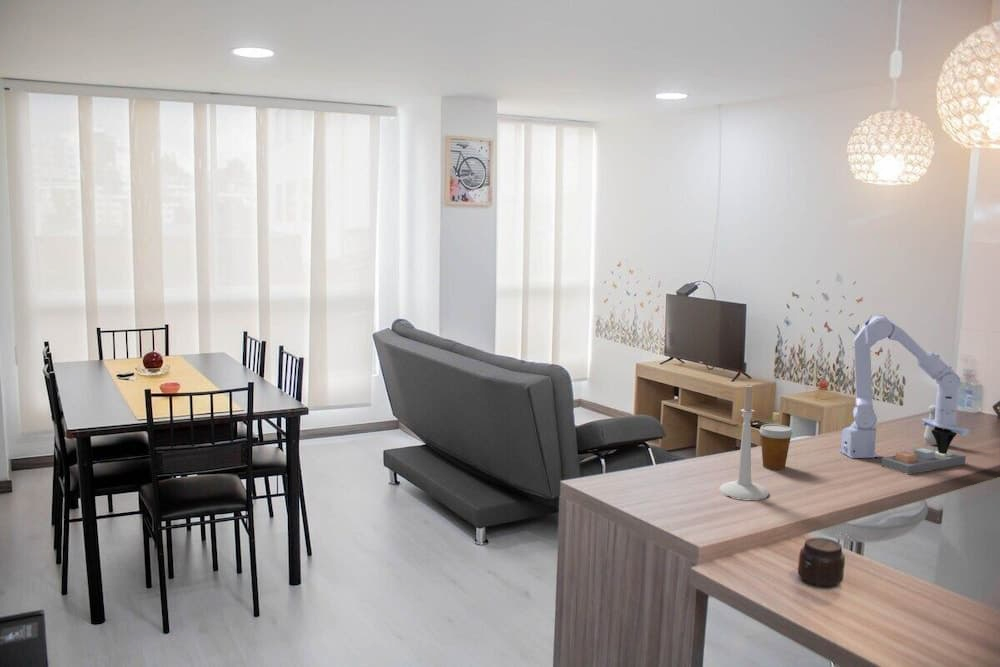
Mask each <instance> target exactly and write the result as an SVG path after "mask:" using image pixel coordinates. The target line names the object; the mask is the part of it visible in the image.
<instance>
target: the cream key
mask: <svg viewBox="0 0 1000 667" xmlns="http://www.w3.org/2000/svg"><path fill="white" fill-rule="evenodd" d="M935 454H936V455H939V456H943V457H947V456H952V455H953V454H952V453H949V452H947V453H944V454H942V453H938V451H935Z"/></svg>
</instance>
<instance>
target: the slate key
mask: <svg viewBox="0 0 1000 667" xmlns="http://www.w3.org/2000/svg"><path fill="white" fill-rule="evenodd" d="M932 450H933V449H928V448H924V447H923V448H916V449H914V451H913V453H914V454H916V455H917V458H920V459H924V460H929V459H935V451H932Z"/></svg>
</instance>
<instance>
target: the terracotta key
mask: <svg viewBox="0 0 1000 667" xmlns="http://www.w3.org/2000/svg"><path fill="white" fill-rule="evenodd" d="M913 453H914V452H910V451H906V450H904V451H897V452H895V456H896V457H895V460H898V461H901V462H904V463H912V462H916V459H917V455H916V454H913Z"/></svg>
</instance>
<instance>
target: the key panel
mask: <svg viewBox="0 0 1000 667" xmlns="http://www.w3.org/2000/svg"><path fill="white" fill-rule="evenodd" d="M931 450H932V451H938V448H935V449H931ZM947 452H949V453H952V454H953V455H952V456H947V457H943V456H939V455H936V454H935V459H929V460H924V459H920V458H917V459H916V462H912V463H904V462H901V461H898V460H895V457H896V455H893V456H888V457H882V458H881V459H882V460H881V466H882V465H883V466H886V467H888V468H887V469H889V468H891V469H890V470H892V469H894V470H893V471H895V470H897V471H896V472H898V471H900V472H899V473H901V472H903V473H902V474H904V473H907V474H908V475H910V474H909V473H914V474H916V473H915V472H919V473H921V472H920V471H924V472H929V471H928V470H930V471H933V470H934V469H935V470H941V469H945V468H946V469H947V468H950V467H957V466H962V465H966V457H967V456H966V455H963V454H960V453H956V452H953V451H950V450H947ZM912 453H913V454H914V452H912ZM883 466H882V467H883ZM886 467H885V468H886ZM940 468H941V469H940ZM907 474H906V475H907Z"/></svg>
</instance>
